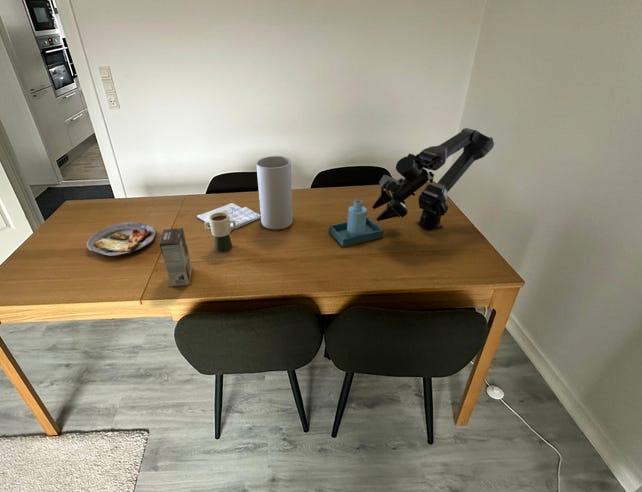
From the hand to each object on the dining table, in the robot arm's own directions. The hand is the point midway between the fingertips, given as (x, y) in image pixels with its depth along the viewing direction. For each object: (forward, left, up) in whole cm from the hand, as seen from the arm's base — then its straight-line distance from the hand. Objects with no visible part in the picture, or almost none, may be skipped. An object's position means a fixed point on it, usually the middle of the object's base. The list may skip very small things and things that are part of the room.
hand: (374, 213), depth 134 cm
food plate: (+88, -33, -9) cm, 95 cm away
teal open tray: (+6, -2, -8) cm, 11 cm away
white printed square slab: (+46, -35, -9) cm, 59 cm away
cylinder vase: (+29, -23, -9) cm, 38 cm away
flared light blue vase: (+6, -2, -8) cm, 10 cm away
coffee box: (+70, -1, -9) cm, 71 cm away
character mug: (+53, -13, -9) cm, 56 cm away
